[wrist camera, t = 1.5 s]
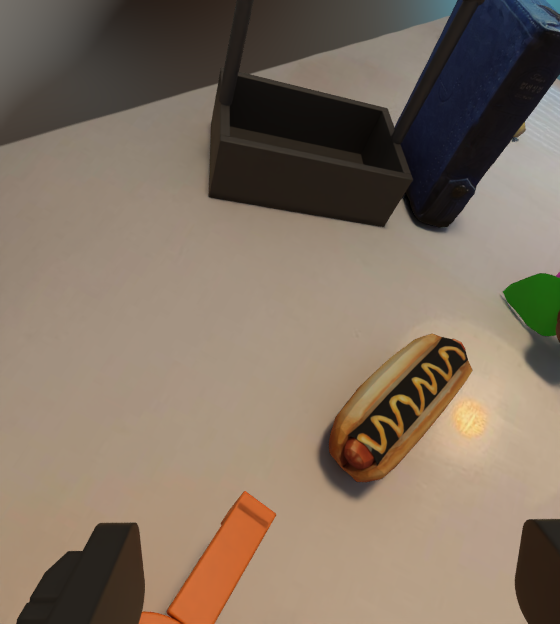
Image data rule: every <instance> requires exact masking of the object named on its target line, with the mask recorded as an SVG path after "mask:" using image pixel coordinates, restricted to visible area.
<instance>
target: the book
mask: <svg viewBox="0 0 560 624" xmlns="http://www.w3.org/2000/svg"><path fill="white" fill-rule="evenodd" d="M462 2H463V0H458V1H457V3H456V5H455V7H454V9H453V11H452V13H451V15H450V17H449V19H448V21H447V23H446V25H445V27H444V29H443V32H442V34H441V36H440V38H439V40H438V42H437V44H436V46H435V48H434V50H433V52H432V54H431V56H430V58H429V60H428V62H427V64H426V66H425V68H424V70H423V72H422V74H421V76H420V78H419V80H418V82H417V84H416V86H415V88H414V90H413V92H412V94H411V96H410V98H409V100H408V102H407V104H406V106H405V108H404V110H403V112H402V114H401V116H400V117H399V119H398V121H397V123H396V126H397V125H398V123H399V121H400V119H401V117H402V115H403V113H404V111H405V109H406V108H407V106H408V104H409V102H410V100H411V98H412V96H413V94H414V93H415V91H416V89H417V87H418V85H419V83H420V81H421V79H422V78H423V76H424V74H425V72H426V70H427V68H428V66H429V64H430V62H431V61H432V59H433V57H434V55H435V53H436V51H437V49H438V47H439V46H440V44H441V42H442V40H443V38H444V36H445V34H446V32H447V30H448V29H449V27H450V25H451V23H452V21H453V19H454V17H455V15H456V14H457V12H458V10H459V8H460V6H461V4H462ZM559 75H560V14H559V13H558V12H557V11H556V10H555V9H554V8H553V7H552V6H551V5H550V4H549V3H548V2H547V1H546V0H485V1H484V2H483V3H482V4H481V5H479V6H478V7H477V9H476V11H475V13H474V14H473V16H472V18H471V20H470V22H469V23H468V25H467V27H466V29H465V31H464V32H463V34H462V36H461V38H460V40H459V41H458V43H457V45H456V47H455V48H454V50H453V52H452V54H451V56H450V57H449V59H448V61H447V63H446V65H445V66H444V68H443V70H442V72H441V73H440V75H439V77H438V79H437V81H436V82H435V84H434V86H433V88H432V90H431V91H430V93H429V95H428V97H427V99H426V100H425V102H424V104H423V106H422V107H421V109H420V111H419V113H418V115H417V116H416V118H415V120H414V122H413V124H412V125H411V127H410V129H409V131H408V133H407V134H406V136H405V138H404V140H403V141H402V143H401V144H400V145H401V147H402V150H403V153H404V156H405V159H406V161H407V164H408V167H409V170H410V172H411V175H412V178H413V181H412V182H411V184H410V185H409V187H408V189H407V190H406V194H407V196H408V198H409V200H410V204H411V208H412V210H413V213H414V214H415V216H416V217H417V219H418V220H420V221H421V222H423V223H426V224H430V225H434V226H437V227H448V226H449V225H450V224H451V223H452V222H453V221H454V220H455V218H456V217H457V216H458V215H459V214H460V212H461V211H462V210H463V209H464V207H465V205H466V204H467V203H468V201H469V200H470V198H471V197H472V196H473V195H474V193H475V190H476V186H477V184H478V183H479V181H480V180H481V179H482V177H483V176H484V175H485V173H486V172H487V171H488V169H489V168H490V167H491V165H492V164H493V163H494V162H495V161H496V159H497V158H498V157H499V155H500V154H501V153H502V152H503V150H504V149H505V148H506V146H507V145H508V144H509V143H510V141H511V139H512V138H513V136H514V135H515V134H516V132H517V131H518V130H519V128H520V127H521V126H522V124H523V123H524V122H525V121H526V119H527V118H528V116H529V115H530V114H531V113H532V111H533V110H534V109H535V107H536V106H537V105H538V103H539V102H540V100H541V99H542V98H543V96H544V95H545V93H546V92H547V91H548V89H549V88H550V87H551V85H552V84H553V83H554V81H555V80H556V78H557V77H558V76H559ZM396 126H395V128H396Z"/></svg>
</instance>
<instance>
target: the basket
mask: <svg viewBox="0 0 560 624" xmlns="http://www.w3.org/2000/svg"><path fill="white" fill-rule="evenodd" d="M253 1H254V0H237V2H236V7H235V13H234V18H233V24H232V29H231V35H230V40H229V45H228V51H227V56H226V62H225V67H224V68H221V71H220V77H219V82H218V88H217V93H216V99H215V105H214V110H213V116H212V121H211V144H210V175H209V197H213V198H218V199H224V200H230V201H236V202H242V203H247V204H253V205H259V206H265V207H271V208H277V209H282V210H288V211H294V212H300V213H306V214H312V215H317V216H323V217H329V218H335V219H341V220H347V221H352V222H358V223H364V224H370V225H376V226H382V227H384V226H385V224H386V222H387V221H388V219H389V217H390V216H391V214H392V213H393V211H394V209H395V208H396V206H397V205H398V203H399V201H400V200H401V198H402V197H403V195H404V193H405V192H406V190H407V189H408V187H409V185H410V184H411V182H412V181H413V178H412V175H411V172H410V170H409V167H408V164H407V161H406V159H405V156H404V153H403V150H402V147H401V145H400V144H401V143H402V141H403V140H404V138H405V136H406V134H407V133H408V131H409V129H410V127H411V125H412V124H413V122H414V120H415V118H416V116H417V115H418V113H419V111H420V109H421V107H422V106H423V104H424V102H425V100H426V99H427V97H428V95H429V93H430V91H431V90H432V88H433V86H434V84H435V82H436V81H437V79H438V77H439V75H440V73H441V72H442V70H443V68H444V66H445V65H446V63H447V61H448V59H449V57H450V56H451V54H452V52H453V50H454V48H455V47H456V45H457V43H458V41H459V40H460V38H461V36H462V34H463V32H464V31H465V29H466V27H467V25H468V23H469V22H470V20H471V18H472V16H473V14H474V13H475V11H476V9H477V7H478V6H479V5H481V4H482V3H483V2H484V1H485V0H463V2H462V4H461V6H460V8H459V10H458V12H457V14H456V15H455V17H454V19H453V21H452V23H451V25H450V27H449V29H448V30H447V32H446V34H445V36H444V38H443V40H442V42H441V44H440V46H439V47H438V49H437V51H436V53H435V55H434V57H433V59H432V61H431V62H430V64H429V66H428V68H427V70H426V72H425V74H424V76H423V78H422V79H421V81H420V83H419V85H418V87H417V89H416V91H415V93H414V94H413V96H412V98H411V100H410V102H409V104H408V106H407V108H406V109H405V111H404V113H403V115H402V117H401V119H400V121H399V123H398V125H397V126H396V128H394V125H393V123H392V120H391V117H390V114H389V112H388V109H387V108H384V107H380V106H376V105H371V104H367V103H363V102H359V101H355V100H351V99H347V98H343V97H339V96H335V95H331V94H327V93H323V92H319V91H315V90H311V89H307V88H303V87H299V86H294V85H290V84H286V83H282V82H278V81H274V80H270V79H266V78H262V77H258V76H254V75H250V74H246V73H242V72H239V67H240V63H241V57H242V53H243V48H244V44H245V39H246V34H247V29H248V25H249V20H250V15H251V10H252V6H253Z"/></svg>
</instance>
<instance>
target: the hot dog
mask: <svg viewBox="0 0 560 624" xmlns="http://www.w3.org/2000/svg"><path fill="white" fill-rule="evenodd" d="M471 372H472V368H471V366H470V364H469V361H468V359H467V355H466V351H465V348H464V346H463V344H462V343H461V342H460V341H458V340H455V339H448V338H444V337H440V336H437V335H435V334H430V335H426V336H423V337H420V338H417V339H415V340H414V341H412V342H411V343H410V344H408V345H407V346H406V347H404V348H403V349H401V350H400V351H399V352H397V353H396V354H395V355H393V356H392V357H391V358H390V359H389V360H387V361H386V362H385V363H384V364H383V365H382V366H381V367H380V368H379V369H378V370H377V371H376V372H375V373H374V374H372V375H371V376H370V377H369V378H368V379H367V380H366V381H365V382H364V383H363V384H362V385H361V386H360V387H359V388H358V389H357V390H356V392H355V393H354V394H353V396H352V397H351V398H350V399H349V401H348V402H347V403H346V405H345V406H344V407H343V408H342V410H341V411H340V412H339V414H338V415H337V416H336V418H335V421H334V424H333V427H332V431H331V434H330V439H329V453H330V454H331V455H332V457H333V458H334V459H335V460H336V462H337V463H338V464H339V466H340V467H341V468H342V469H343V470H345V471H346V472H347V473H348V474H349V475H350V476H351V477H352V478H353V479H354V480H355V481H356V482H370V481H374V480H378V479H382V478H383V477H384V476H386V475H387V474H388V473H389V472H390V471H391V470H392V469H394V468H395V467H396V466H397V465H398V464H399V462H400V461H401V460H402V459H403V458H404V457H405V456H406V455H407V453H408V452H409V451H410V450H411V449H412V448H413V447H414V446H415V444H416V443H417V442H418V441H419V440H420V439H421V438H422V437H423V435H424V434H425V433H426V432H427V430H428V429H429V428H430V427H431V426H432V424H433V423H434V422H435V421H436V419H437V418H438V417H439V416H440V415H441V413H442V412H443V411H444V410H445V408H446V407H447V406H448V404H449V403H450V402H451V400H452V399H453V398H454V396H455V395H456V394H457V392H458V391H459V390H460V388H461V387H462V386H463V384H464V383H465V381H466V380H467V378H468V377H469V375H470V374H471Z"/></svg>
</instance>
